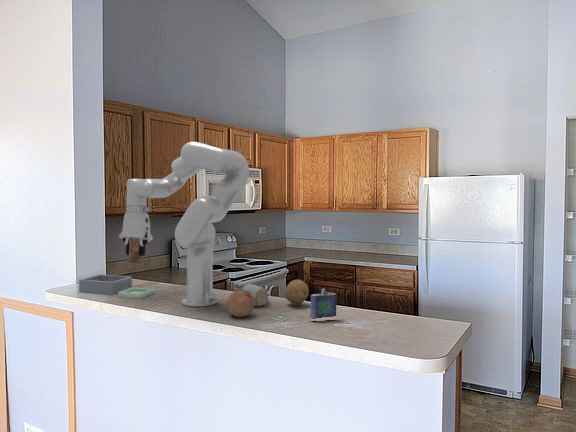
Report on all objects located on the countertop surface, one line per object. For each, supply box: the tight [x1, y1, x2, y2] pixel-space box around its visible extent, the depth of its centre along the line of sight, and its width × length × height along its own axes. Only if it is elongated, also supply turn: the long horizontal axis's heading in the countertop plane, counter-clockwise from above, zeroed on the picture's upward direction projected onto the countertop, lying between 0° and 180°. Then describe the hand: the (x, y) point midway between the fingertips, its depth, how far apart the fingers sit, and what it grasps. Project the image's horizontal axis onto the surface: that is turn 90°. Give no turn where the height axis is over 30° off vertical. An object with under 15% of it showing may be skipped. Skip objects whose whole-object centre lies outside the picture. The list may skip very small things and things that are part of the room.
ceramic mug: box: [241, 283, 270, 307], centre depth 173 cm, size 11×8×8 cm
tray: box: [117, 287, 155, 300], centre depth 183 cm, size 10×10×2 cm
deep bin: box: [78, 274, 133, 296], centre depth 191 cm, size 16×13×5 cm
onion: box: [226, 289, 255, 318], centre depth 156 cm, size 10×9×10 cm
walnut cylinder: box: [128, 237, 143, 264], centre depth 182 cm, size 5×5×10 cm
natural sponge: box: [284, 279, 310, 306], centre depth 172 cm, size 9×9×10 cm
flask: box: [309, 288, 338, 319], centre depth 153 cm, size 9×3×11 cm, turn 109°
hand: (135, 254), depth 183 cm, fingers closed on walnut cylinder, 5 cm apart
